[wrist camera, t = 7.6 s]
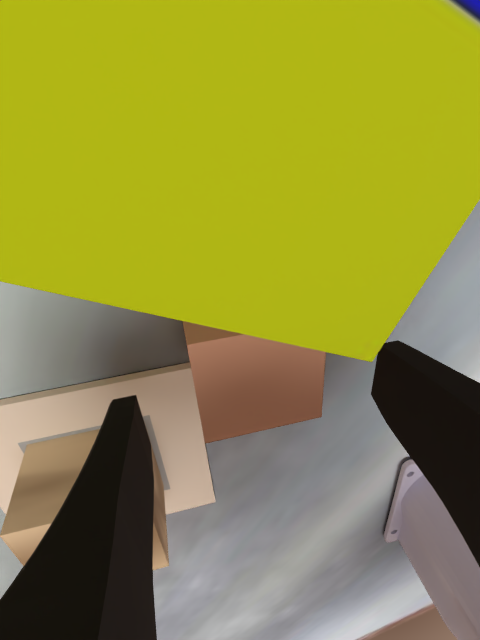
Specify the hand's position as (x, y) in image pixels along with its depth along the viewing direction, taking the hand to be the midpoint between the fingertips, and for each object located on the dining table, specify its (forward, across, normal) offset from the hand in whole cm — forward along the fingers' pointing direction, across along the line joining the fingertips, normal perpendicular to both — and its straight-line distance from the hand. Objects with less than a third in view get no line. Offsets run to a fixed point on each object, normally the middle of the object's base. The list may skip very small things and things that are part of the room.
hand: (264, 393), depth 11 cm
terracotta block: (+5, 0, 0) cm, 5 cm away
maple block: (+5, +7, +8) cm, 11 cm away
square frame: (+5, +7, +8) cm, 12 cm away
